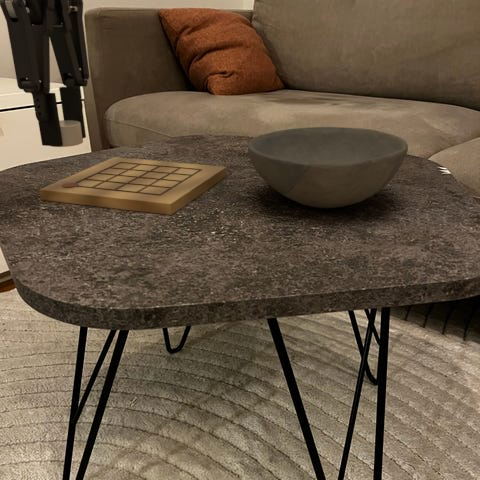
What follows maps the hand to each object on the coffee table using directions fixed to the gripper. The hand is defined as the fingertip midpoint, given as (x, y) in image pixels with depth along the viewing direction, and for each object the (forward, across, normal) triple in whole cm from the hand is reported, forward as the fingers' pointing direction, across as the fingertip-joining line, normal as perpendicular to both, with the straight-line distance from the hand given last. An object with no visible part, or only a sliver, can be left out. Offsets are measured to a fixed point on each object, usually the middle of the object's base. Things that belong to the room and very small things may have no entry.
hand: (64, 140), depth 80 cm
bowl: (+8, +10, -34) cm, 36 cm away
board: (+8, +7, -7) cm, 12 cm away
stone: (0, 0, 0) cm, 0 cm away
